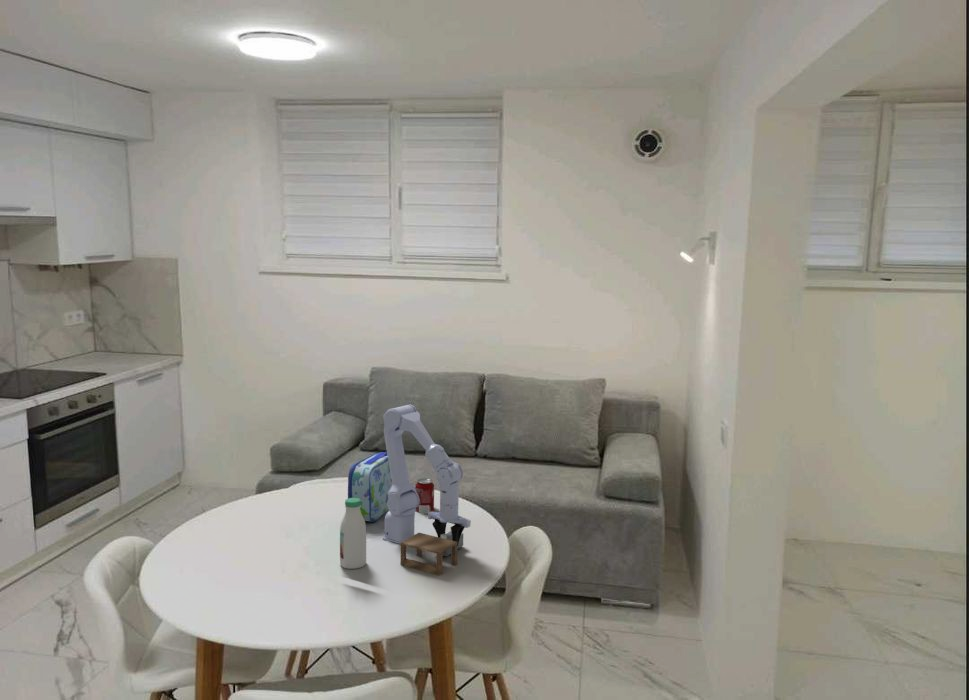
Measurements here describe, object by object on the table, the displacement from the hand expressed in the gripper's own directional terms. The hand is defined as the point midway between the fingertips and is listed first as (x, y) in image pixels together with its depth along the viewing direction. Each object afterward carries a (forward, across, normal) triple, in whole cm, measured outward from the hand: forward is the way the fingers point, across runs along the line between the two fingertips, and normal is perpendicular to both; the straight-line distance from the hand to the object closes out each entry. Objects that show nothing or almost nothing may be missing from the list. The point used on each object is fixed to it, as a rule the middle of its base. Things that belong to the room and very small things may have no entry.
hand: (448, 544), depth 232 cm
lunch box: (+3, -42, +16) cm, 44 cm away
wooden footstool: (+2, 0, -11) cm, 11 cm away
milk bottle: (+3, -19, -23) cm, 30 cm away
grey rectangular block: (+2, 0, 0) cm, 2 cm away
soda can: (+3, -26, +26) cm, 37 cm away
